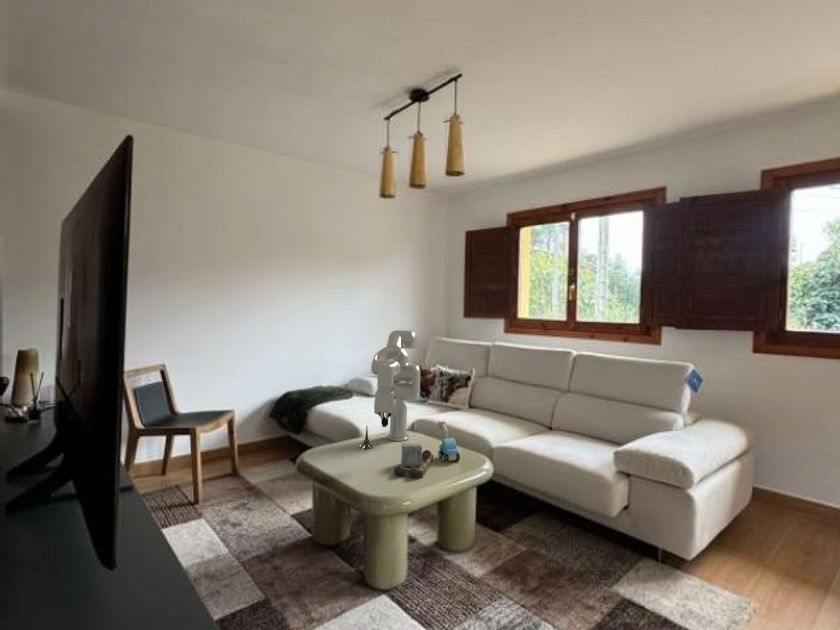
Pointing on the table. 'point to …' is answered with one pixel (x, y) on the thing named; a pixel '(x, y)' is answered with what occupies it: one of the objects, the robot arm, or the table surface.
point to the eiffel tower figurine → (366, 441)
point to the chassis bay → (415, 471)
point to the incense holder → (411, 455)
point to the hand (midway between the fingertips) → (384, 426)
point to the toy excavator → (447, 446)
